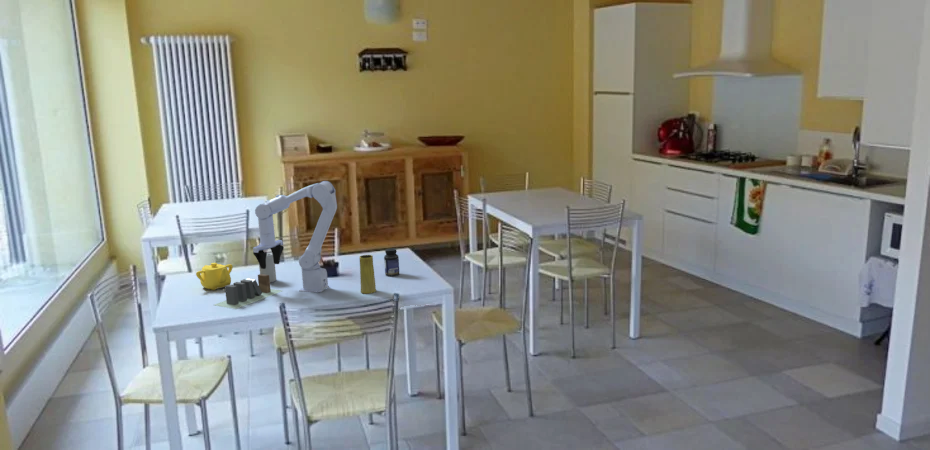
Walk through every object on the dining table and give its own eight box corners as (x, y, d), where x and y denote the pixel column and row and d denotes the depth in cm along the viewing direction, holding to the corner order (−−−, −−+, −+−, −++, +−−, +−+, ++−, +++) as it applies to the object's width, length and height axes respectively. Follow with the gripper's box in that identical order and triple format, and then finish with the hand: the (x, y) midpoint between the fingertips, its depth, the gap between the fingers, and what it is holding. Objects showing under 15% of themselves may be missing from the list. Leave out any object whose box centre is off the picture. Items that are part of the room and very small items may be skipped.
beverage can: (272, 284, 294) (269, 256, 292) (258, 284, 296) (255, 256, 293) (279, 280, 301) (276, 252, 298) (265, 279, 302) (262, 252, 300)
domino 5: (262, 290, 285) (261, 273, 283) (270, 291, 282) (269, 274, 281) (259, 291, 283) (257, 274, 282) (267, 293, 281) (265, 276, 279)
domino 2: (238, 299, 274) (236, 281, 272) (247, 300, 272) (245, 283, 270) (235, 300, 272) (233, 283, 271) (243, 302, 270) (241, 284, 269)
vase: (363, 294, 275) (361, 259, 272) (358, 291, 280) (356, 255, 277) (378, 292, 278) (376, 256, 275) (373, 288, 283) (370, 253, 280)
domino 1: (230, 302, 270) (228, 284, 269) (238, 303, 268) (236, 286, 267) (226, 303, 269) (224, 286, 267) (235, 305, 267) (233, 287, 265)
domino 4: (254, 291, 281) (247, 278, 277) (262, 293, 278) (255, 279, 275) (251, 294, 279) (244, 281, 276) (259, 296, 277) (252, 282, 274)
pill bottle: (402, 273, 303) (401, 248, 301) (393, 277, 298) (392, 251, 296) (391, 272, 307) (389, 247, 304) (382, 275, 301) (380, 250, 299)
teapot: (239, 282, 300) (236, 258, 298) (228, 291, 287) (226, 266, 285) (207, 283, 300) (204, 259, 298) (195, 292, 287) (192, 267, 285)
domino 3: (246, 295, 277) (243, 279, 275) (255, 297, 275) (252, 280, 273) (243, 297, 276) (240, 280, 274) (251, 298, 274) (248, 282, 272)
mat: (261, 288, 289) (261, 287, 289) (283, 291, 283) (283, 290, 283) (213, 305, 268) (213, 305, 268) (236, 309, 262) (235, 308, 262)
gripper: (272, 228, 290) (275, 261, 292) (246, 236, 277) (249, 269, 280) (285, 229, 286) (288, 262, 289) (259, 237, 274) (262, 271, 277)
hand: (270, 266), depth 284 cm, fingers open, 7 cm apart
